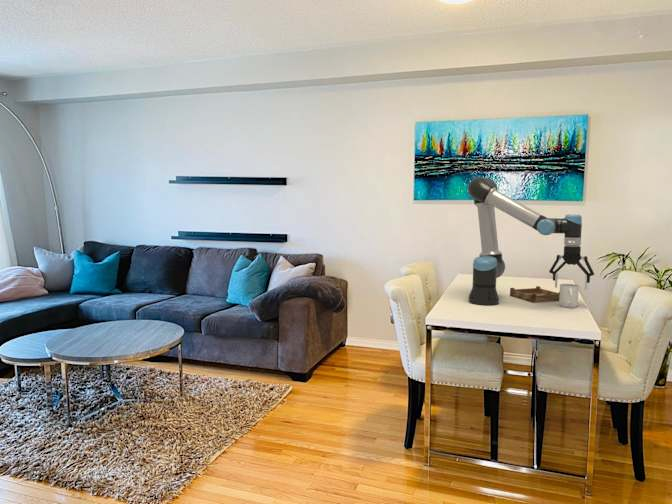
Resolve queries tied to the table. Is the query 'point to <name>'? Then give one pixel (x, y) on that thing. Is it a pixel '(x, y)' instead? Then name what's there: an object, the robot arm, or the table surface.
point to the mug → (568, 295)
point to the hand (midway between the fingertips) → (570, 288)
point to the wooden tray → (535, 294)
